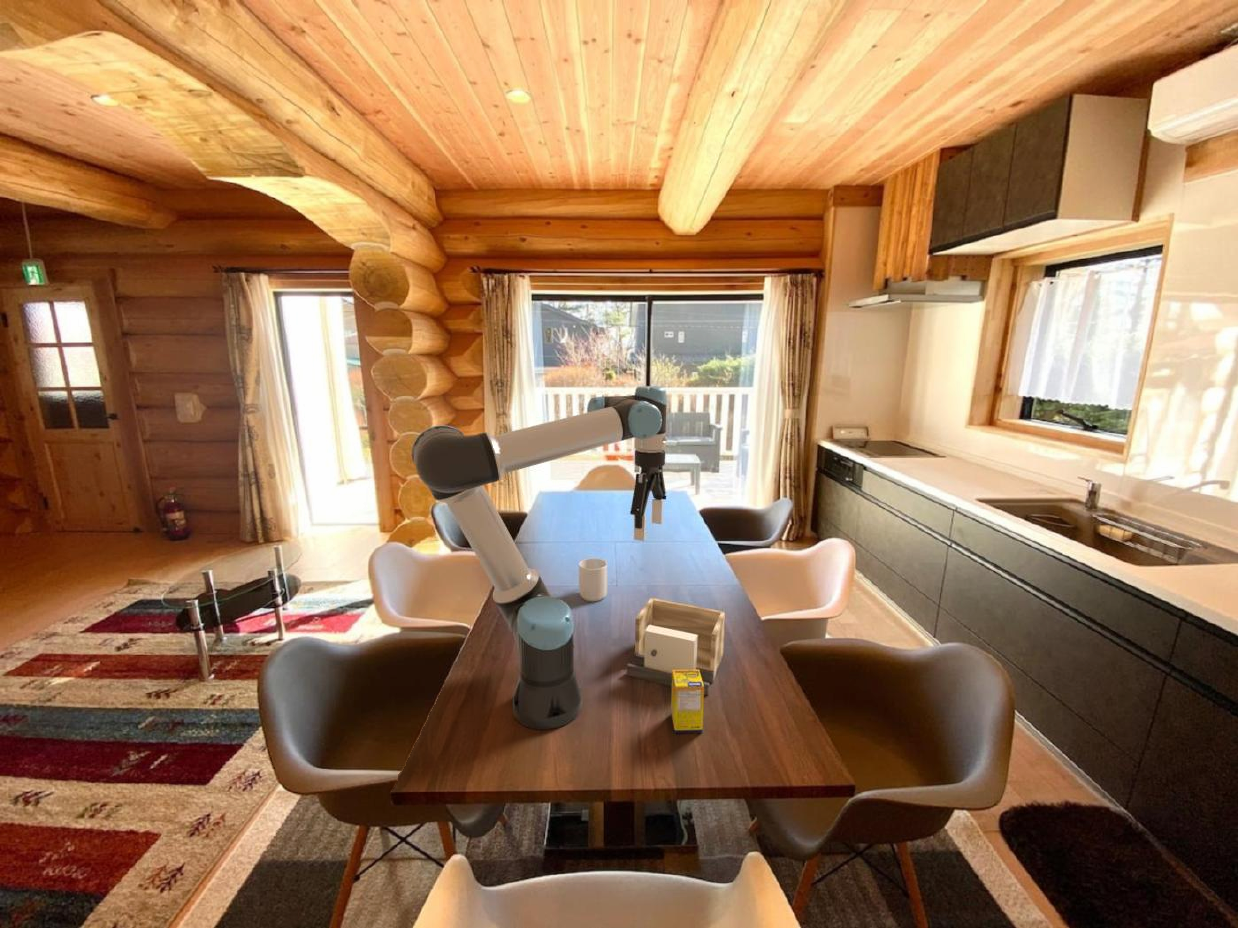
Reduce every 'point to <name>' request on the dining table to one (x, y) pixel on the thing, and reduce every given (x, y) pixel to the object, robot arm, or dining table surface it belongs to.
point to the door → (669, 649)
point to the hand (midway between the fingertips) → (648, 531)
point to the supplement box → (687, 701)
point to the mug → (593, 579)
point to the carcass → (686, 620)
